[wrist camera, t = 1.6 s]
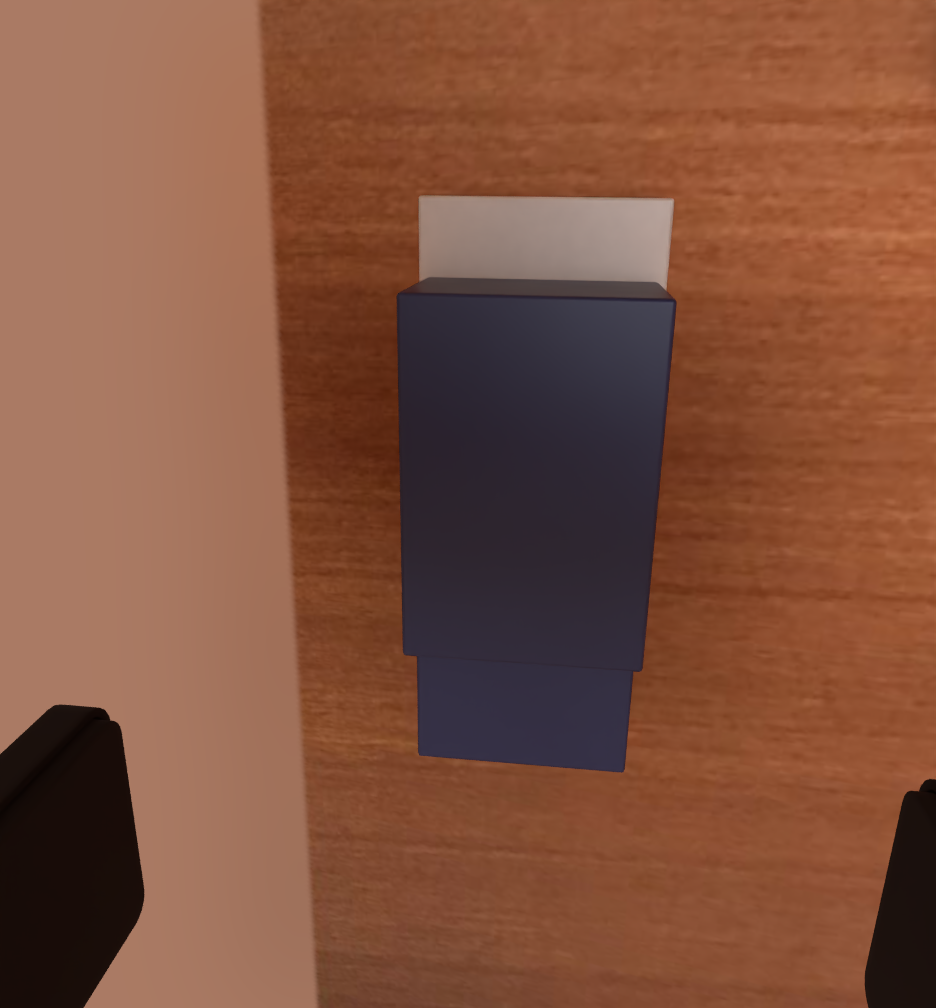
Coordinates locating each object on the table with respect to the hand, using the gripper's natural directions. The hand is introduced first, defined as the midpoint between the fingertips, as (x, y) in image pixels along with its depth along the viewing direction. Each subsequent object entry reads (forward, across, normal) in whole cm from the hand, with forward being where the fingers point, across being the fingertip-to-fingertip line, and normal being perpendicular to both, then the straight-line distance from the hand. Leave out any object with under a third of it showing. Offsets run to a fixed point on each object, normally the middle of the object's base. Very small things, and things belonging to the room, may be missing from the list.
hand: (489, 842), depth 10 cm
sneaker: (+16, 0, 0) cm, 16 cm away
